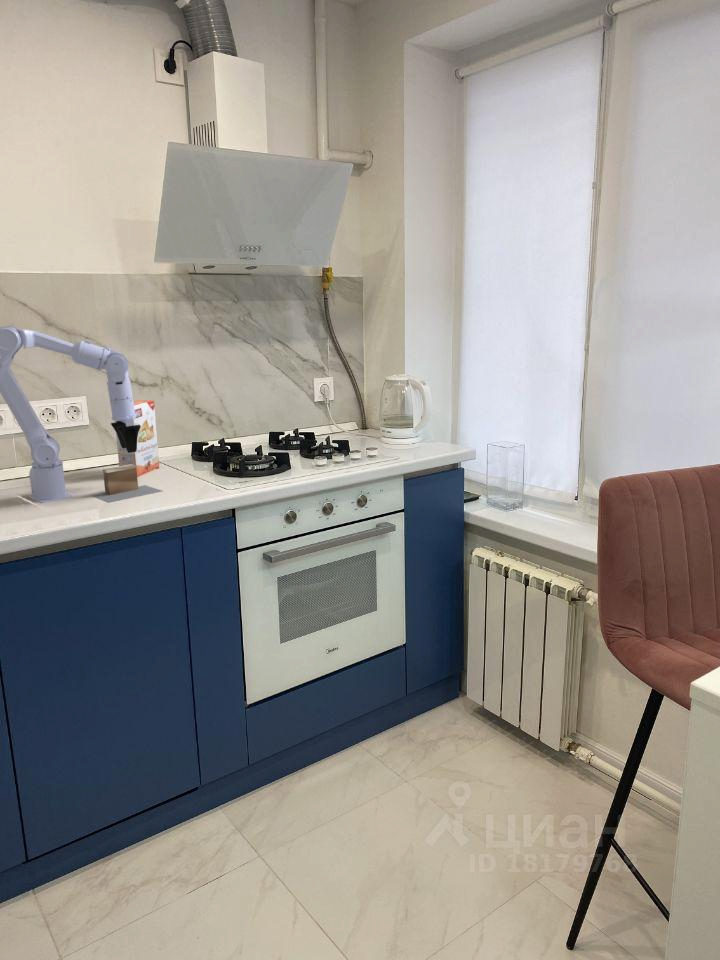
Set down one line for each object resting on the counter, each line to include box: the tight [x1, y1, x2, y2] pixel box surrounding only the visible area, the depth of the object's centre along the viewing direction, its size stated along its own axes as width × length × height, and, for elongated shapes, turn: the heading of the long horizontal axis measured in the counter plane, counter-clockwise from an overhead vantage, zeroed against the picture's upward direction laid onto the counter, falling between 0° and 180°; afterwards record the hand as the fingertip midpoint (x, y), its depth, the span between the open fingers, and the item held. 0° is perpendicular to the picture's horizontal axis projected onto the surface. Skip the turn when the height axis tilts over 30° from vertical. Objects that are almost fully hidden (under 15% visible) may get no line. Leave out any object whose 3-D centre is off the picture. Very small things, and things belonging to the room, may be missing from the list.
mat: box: [92, 484, 163, 504], centre depth 187 cm, size 10×15×1 cm, turn 134°
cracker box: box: [114, 399, 160, 478], centre depth 210 cm, size 14×6×21 cm, turn 168°
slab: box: [102, 464, 139, 495], centre depth 188 cm, size 2×8×6 cm, turn 134°
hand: (129, 449), depth 190 cm, fingers open, 7 cm apart
